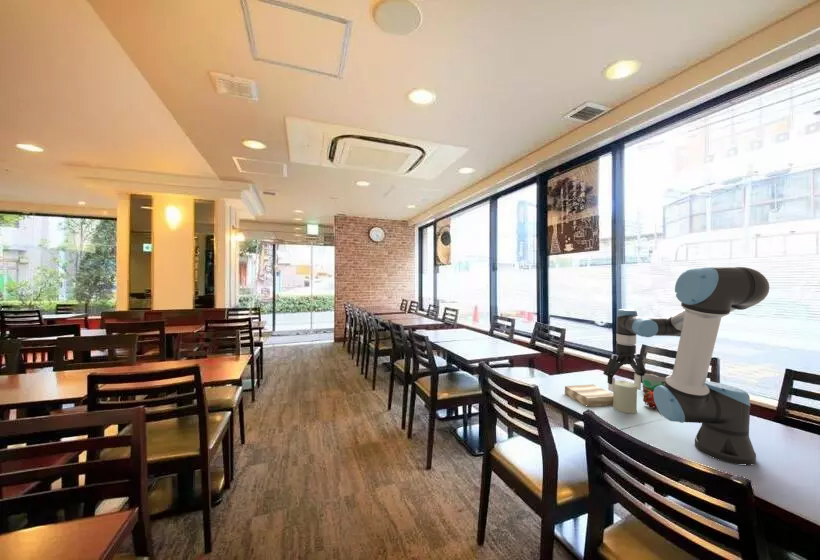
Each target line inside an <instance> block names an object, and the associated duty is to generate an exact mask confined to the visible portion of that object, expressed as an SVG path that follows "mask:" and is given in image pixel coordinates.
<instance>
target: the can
mask: <svg viewBox="0 0 820 560" xmlns="http://www.w3.org/2000/svg"><path fill="white" fill-rule="evenodd" d="M612 393H613V405H612V408H613V409H614V410H615V411H617V412H621V413H624V414H637V413H638V410H637V409H638V408H637V407H638V402H637V401H638V389H637V385H636V384H634V383H633V382H631V381H627V380H615V391H614V392H612Z"/></svg>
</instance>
